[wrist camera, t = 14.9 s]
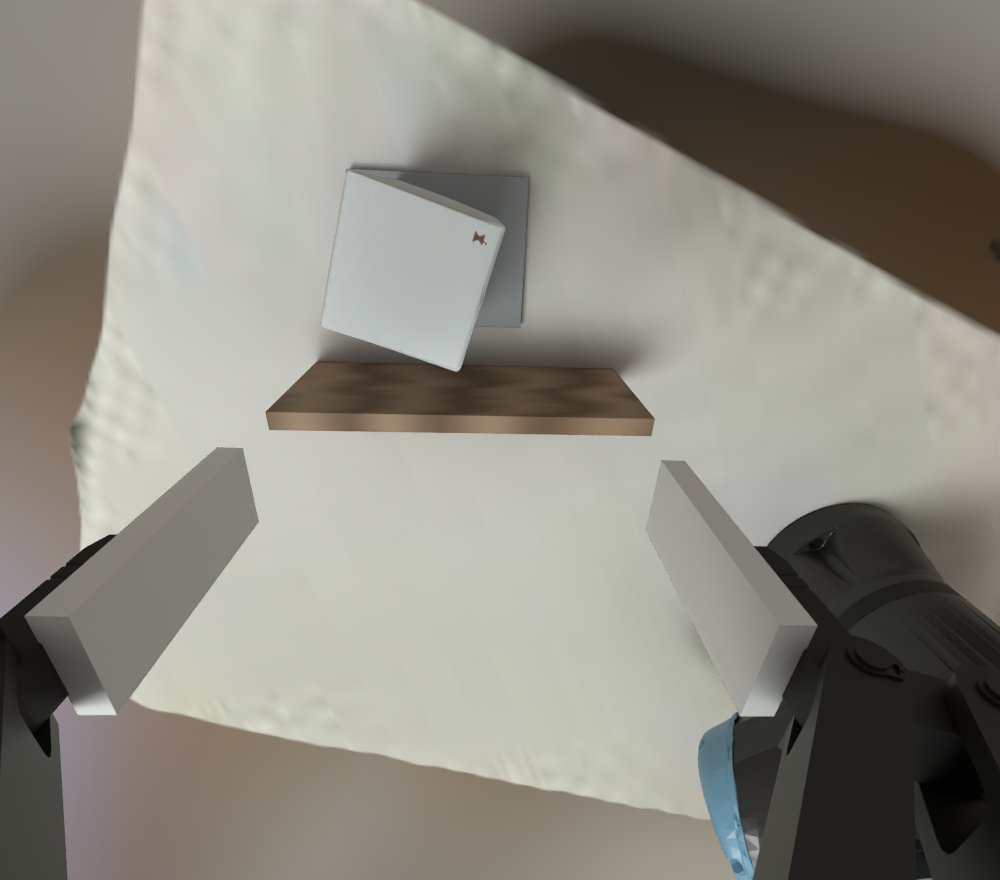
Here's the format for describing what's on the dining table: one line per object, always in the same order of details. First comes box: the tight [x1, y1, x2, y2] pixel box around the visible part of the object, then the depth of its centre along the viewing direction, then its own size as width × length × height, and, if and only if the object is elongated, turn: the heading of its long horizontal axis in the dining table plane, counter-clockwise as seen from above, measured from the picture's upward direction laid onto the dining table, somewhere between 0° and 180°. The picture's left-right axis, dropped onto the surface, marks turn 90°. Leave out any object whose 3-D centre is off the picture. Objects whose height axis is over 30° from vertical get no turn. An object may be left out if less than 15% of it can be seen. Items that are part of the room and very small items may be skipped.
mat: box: [346, 169, 529, 328], centre depth 33 cm, size 12×10×1 cm
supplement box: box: [320, 170, 505, 372], centre depth 27 cm, size 7×7×13 cm
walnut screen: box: [266, 362, 655, 436], centre depth 33 cm, size 24×1×10 cm, turn 88°
